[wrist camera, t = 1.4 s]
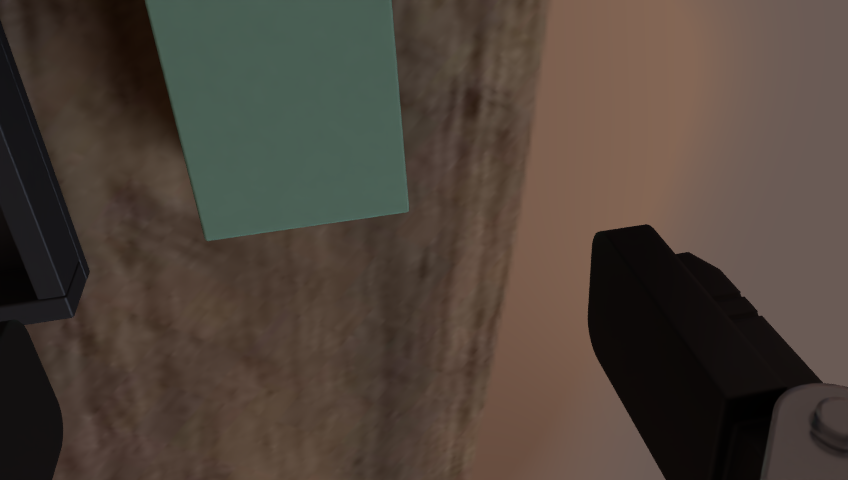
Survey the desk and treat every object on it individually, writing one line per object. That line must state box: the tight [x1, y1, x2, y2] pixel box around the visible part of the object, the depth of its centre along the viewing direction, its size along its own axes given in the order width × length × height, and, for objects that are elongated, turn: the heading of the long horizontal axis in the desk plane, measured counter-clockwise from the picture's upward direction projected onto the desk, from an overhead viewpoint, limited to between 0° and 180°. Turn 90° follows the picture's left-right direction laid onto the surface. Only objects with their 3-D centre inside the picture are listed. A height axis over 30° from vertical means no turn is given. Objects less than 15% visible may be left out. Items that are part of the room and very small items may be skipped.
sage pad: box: [145, 0, 409, 241], centre depth 20 cm, size 6×8×4 cm
